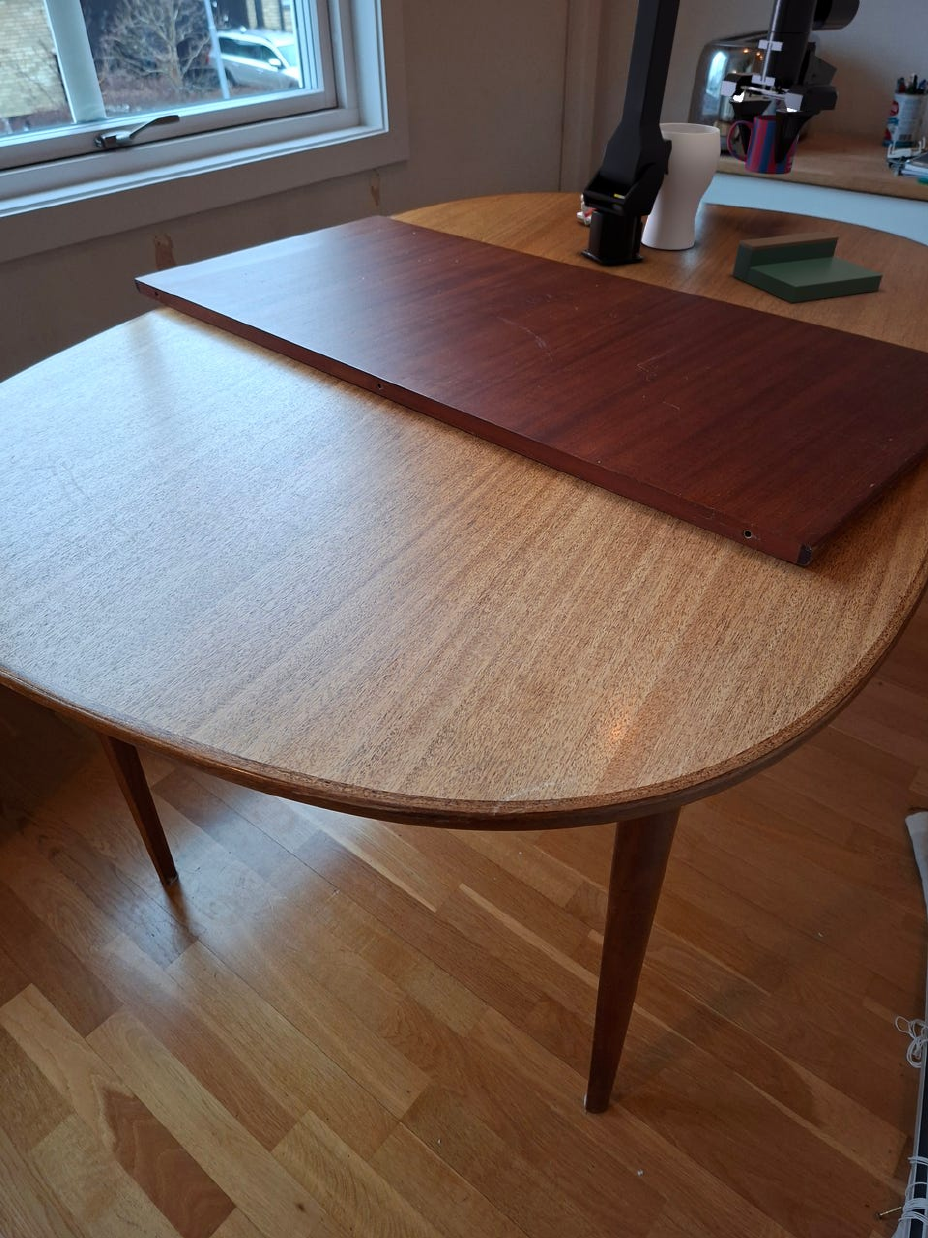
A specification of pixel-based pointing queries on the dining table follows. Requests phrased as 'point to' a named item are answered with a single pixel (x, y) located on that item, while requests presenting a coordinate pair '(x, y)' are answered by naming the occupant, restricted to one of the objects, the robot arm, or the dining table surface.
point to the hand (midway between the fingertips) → (762, 158)
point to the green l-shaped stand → (801, 267)
